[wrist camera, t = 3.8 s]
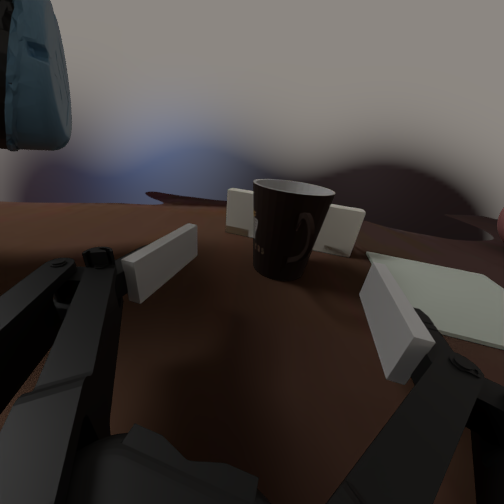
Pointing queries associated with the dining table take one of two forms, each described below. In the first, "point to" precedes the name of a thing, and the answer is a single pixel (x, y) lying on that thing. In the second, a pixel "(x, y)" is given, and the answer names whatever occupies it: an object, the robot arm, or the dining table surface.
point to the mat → (451, 299)
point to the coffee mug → (286, 225)
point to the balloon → (501, 225)
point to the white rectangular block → (330, 236)
